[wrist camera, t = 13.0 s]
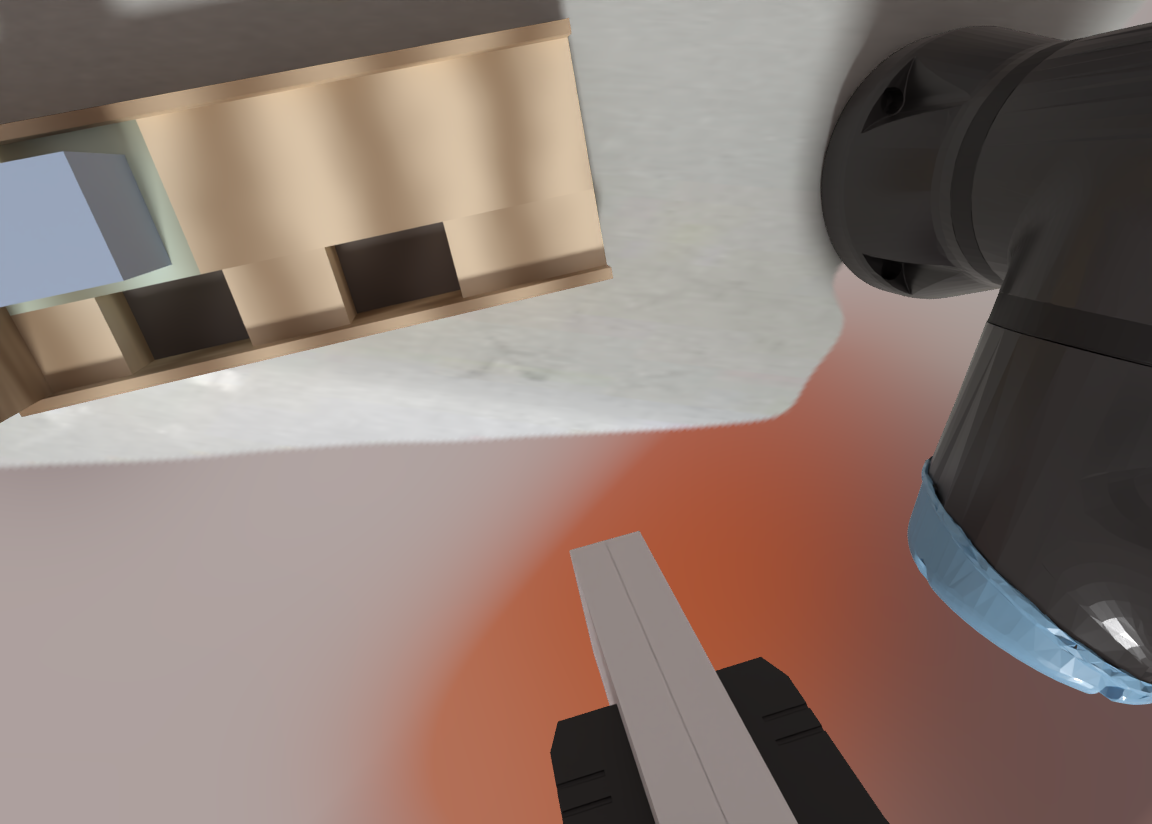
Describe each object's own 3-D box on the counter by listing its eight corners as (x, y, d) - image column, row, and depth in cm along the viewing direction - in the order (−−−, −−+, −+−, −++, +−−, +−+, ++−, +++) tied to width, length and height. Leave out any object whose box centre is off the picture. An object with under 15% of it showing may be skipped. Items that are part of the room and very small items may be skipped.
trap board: (555, 35, 33) (586, -5, 25) (596, 268, 37) (633, 291, 30) (-63, 152, 30) (-231, 146, 22) (67, 390, 34) (-36, 450, 27)
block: (124, 154, 29) (63, 151, 24) (172, 264, 30) (123, 280, 26) (7, 177, 28) (-79, 178, 23) (63, 287, 30) (-6, 308, 25)
